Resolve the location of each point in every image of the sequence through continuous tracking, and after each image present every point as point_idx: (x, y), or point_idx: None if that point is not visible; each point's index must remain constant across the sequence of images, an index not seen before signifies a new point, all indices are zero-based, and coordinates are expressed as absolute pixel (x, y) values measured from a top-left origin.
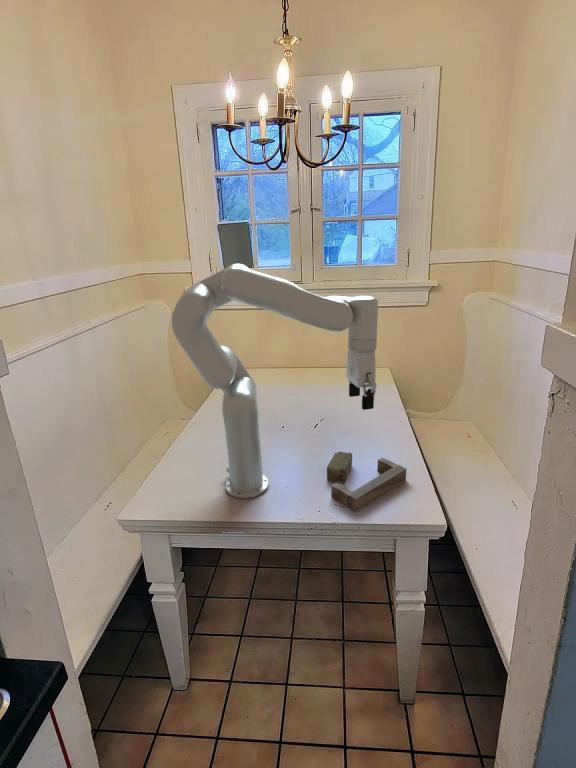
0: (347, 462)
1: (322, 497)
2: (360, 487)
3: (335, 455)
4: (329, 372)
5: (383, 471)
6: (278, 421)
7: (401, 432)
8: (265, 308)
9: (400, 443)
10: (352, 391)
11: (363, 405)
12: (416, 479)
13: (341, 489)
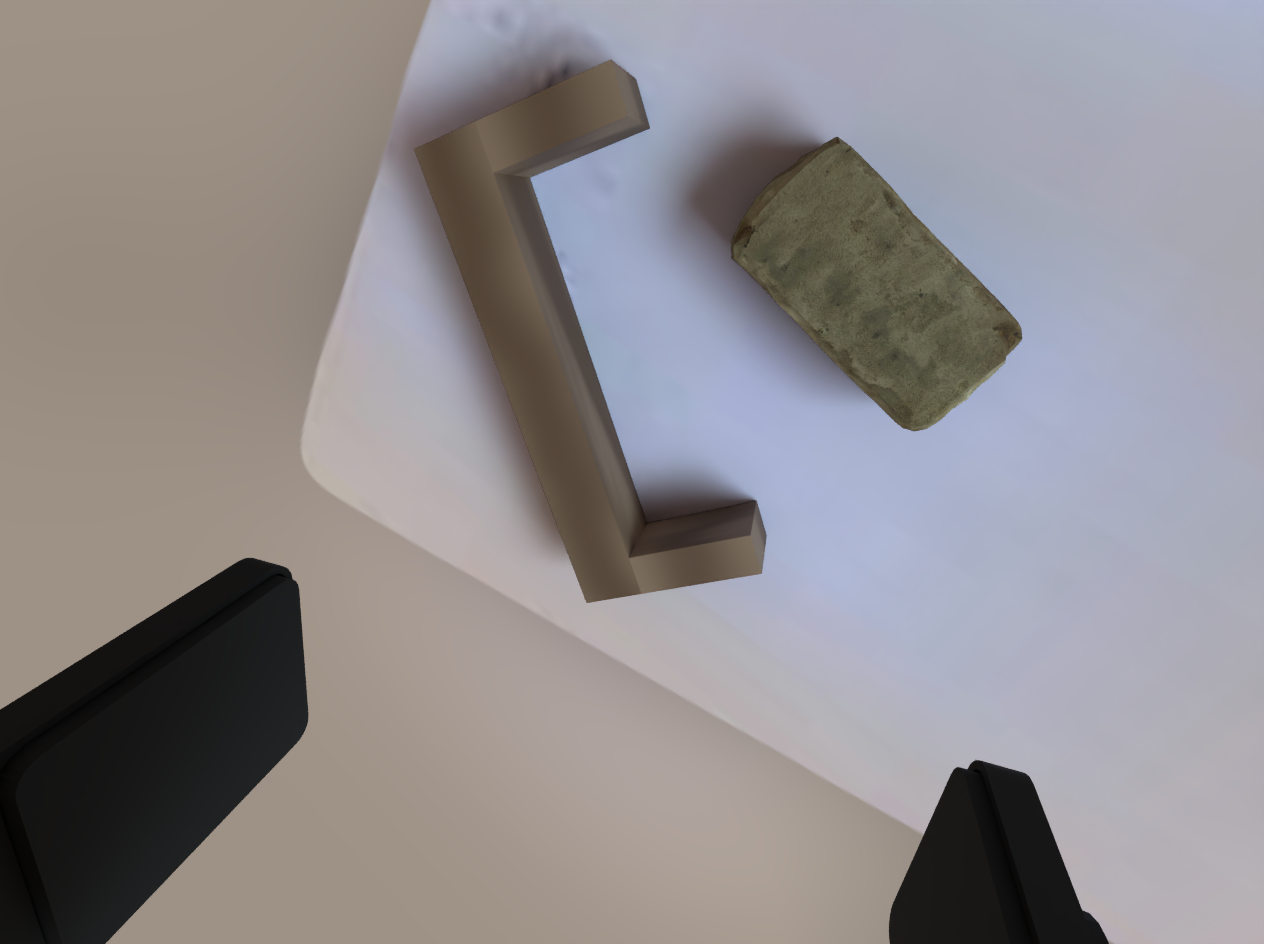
0: (809, 327)
1: (664, 16)
2: (514, 249)
3: (965, 299)
4: None
5: (710, 517)
6: None
7: None
8: None
9: None
10: (967, 919)
11: (190, 613)
12: (593, 610)
13: (539, 111)
